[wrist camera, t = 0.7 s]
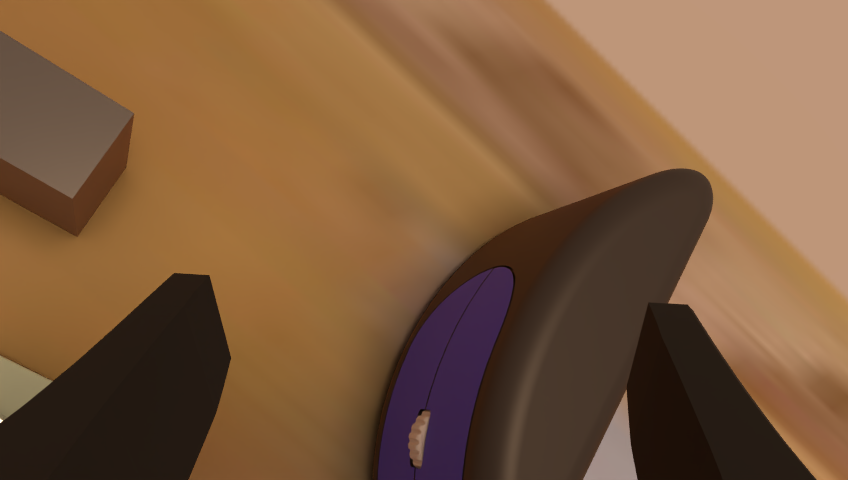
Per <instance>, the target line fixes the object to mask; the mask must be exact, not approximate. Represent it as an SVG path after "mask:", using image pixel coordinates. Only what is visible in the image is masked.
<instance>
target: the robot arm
mask: <svg viewBox="0 0 848 480" xmlns="http://www.w3.org/2000/svg"><path fill="white" fill-rule="evenodd" d="M230 360H231V356H230V352H229V348H228V345H227V341H226V337H225V333H224V329H223V326H222V322H221V318H220V314H219V310H218V306H217V303H216V299H215V295H214V291H213V287H212V284H211V280H210V276H209V275H196V274H180V273H174V274H173V275H172V276H171V277H169V278H168V279H167V280H166V281H165V282H164V283H163V284H162V285H161V286H159V287H158V288H157V289H156V290H155V291H154V292H153V293H152V294H151V295H150V296H148V297H147V298H146V299H145V300H144V301H143V302H142V303H141V304H140V305H139V306H138V307H137V308H135V309H134V310H133V311H132V312H131V313H130V314H129V315H128V316H127V317H126V318H125V319H123V320H122V321H121V322H120V323H119V324H118V325H117V326H116V327H115V328H114V329H113V330H112V331H110V332H109V333H108V334H107V335H106V336H105V337H104V338H103V339H101V340H100V341H99V342H98V343H97V344H96V345H95V346H94V347H92V348H91V349H90V350H89V351H88V352H87V353H86V354H85V355H83V356H82V357H81V358H80V359H79V360H78V361H77V362H76V363H74V364H73V365H72V366H71V367H70V368H68V369H67V370H66V371H65V372H64V373H62V374H61V375H60V376H59V377H57V378H56V379H55V380H54V381H53V382H51V383H50V384H49V385H48V386H46V387H45V388H44V389H43V390H42V391H40V392H39V393H38V394H37V395H36V396H34V397H33V398H32V399H31V400H29V401H28V402H27V403H26V404H25V405H23V406H22V407H21V408H19V409H18V410H17V411H15V412H14V413H13V414H11V415H10V416H9V417H7V418H6V419H5V420H3V421H2V422H1V423H0V480H188V479H189V477H190V474H191V472H192V470H193V467H194V465H195V462H196V460H197V458H198V455H199V453H200V451H201V448H202V446H203V443H204V441H205V439H206V436H207V434H208V431H209V429H210V426H211V424H212V422H213V419H214V417H215V414H216V411H217V408H218V404H219V401H220V397H221V394H222V390H223V387H224V383H225V379H226V375H227V372H228V368H229V364H230ZM627 400H628V414H629V427H630V439H631V447H632V453H633V458H634V463H635V468H636V473H637V479H638V480H816V478H815V477H814V476H813V475H812V474H811V473H810V471H809V470H808V469H807V468H806V467H805V465H804V464H803V463H802V462H801V461H800V459H799V458H798V457H797V456H796V454H795V453H794V452H793V451H792V450H791V448H790V447H789V446H788V445H787V444H786V442H785V441H784V440H783V438H782V437H781V436H780V435H779V433H778V432H777V431H776V429H775V428H774V427H773V426H772V424H771V423H770V422H769V420H768V419H767V418H766V416H765V415H764V414H763V412H762V411H761V410H760V408H759V407H758V405H757V404H756V403H755V401H754V400H753V399H752V397H751V396H750V395H749V393H748V392H747V391H746V389H745V388H744V386H743V385H742V384H741V382H740V381H739V379H738V378H737V377H736V375H735V374H734V372H733V371H732V369H731V368H730V366H729V365H728V363H727V362H726V360H725V359H724V358H723V356H722V355H721V353H720V352H719V350H718V349H717V347H716V346H715V344H714V343H713V341H712V339H711V338H710V336H709V335H708V333H707V332H706V330H705V329H704V327H703V326H702V324H701V322H700V321H699V319H698V318H697V316H696V315H695V313H694V311H693V310H692V309H691V308H690V307H689V306H688V305H684V304H668V303H651V302H648V306H647V310H646V313H645V317H644V321H643V325H642V329H641V333H640V337H639V340H638V344H637V348H636V352H635V356H634V360H633V363H632V367H631V371H630V375H629V379H628V383H627Z"/></svg>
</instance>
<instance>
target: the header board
mask: <svg viewBox="0 0 848 480" xmlns="http://www.w3.org/2000/svg"><path fill="white" fill-rule="evenodd" d="M51 382H53V381H52V380H50V379H48V378H46V377H44V376H42V375H40V374H38V373H36V372H34V371H32V370H29V369H27V368H25V367H23V366H21V365H19V364H17V363H15V362H13V361H11V360H9V359H7V358H5V357H3V356H1V355H0V423H1V422H2V421H3V420H5V419H6V418H7V417H9V416H10V415H11V414H13V413H14V412H15V411H17V410H18V409H19V408H21V407H22V406H23V405H25V404H26V403H27V402H28V401H29V400H31V399H32V398H33V397H34V396H36V395H37V394H38V393H39V392H40V391H42V390H43V389H44V388H45V387H46V386H48V385H49V384H50V383H51Z"/></svg>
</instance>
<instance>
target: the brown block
mask: <svg viewBox="0 0 848 480" xmlns="http://www.w3.org/2000/svg"><path fill="white" fill-rule="evenodd" d="M133 118H134V113H133V112H131V111H130V110H128V109H126V108H125V107H123V106H121V105H120V104H118V103H117V102H115V101H113V100H112V99H110V98H108V97H107V96H105V95H104V94H102V93H100V92H99V91H97V90H95V89H94V88H92V87H91V86H89V85H87V84H86V83H84V82H82V81H81V80H79V79H78V78H76V77H74V76H73V75H71V74H69V73H68V72H66V71H65V70H63V69H61V68H60V67H58V66H56V65H55V64H53V63H52V62H50V61H48V60H47V59H45V58H44V57H42V56H40V55H39V54H37V53H35V52H34V51H32V50H31V49H29V48H27V47H26V46H24V45H22V44H21V43H19V42H18V41H16V40H14V39H13V38H11V37H9V36H8V35H6V34H5V33H3V32H1V31H0V194H1V195H2V196H4V197H6V198H8V199H10V200H12V201H13V202H15V203H17V204H19V205H21V206H22V207H24V208H26V209H28V210H30V211H31V212H33V213H35V214H37V215H39V216H40V217H42V218H44V219H46V220H48V221H50V222H51V223H53V224H55V225H57V226H59V227H60V228H62V229H64V230H66V231H68V232H69V233H71V234H73V235H75V236H78V235H79V233H80V232H81V231H82V229H83V228H84V226H85V225H86V224H87V222H88V221H89V219H90V218H91V216H92V215H93V214H94V212H95V211H96V209H97V208H98V206H99V205H100V204H101V202H102V201H103V199H104V198H105V196H106V195H107V194H108V192H109V191H110V189H111V188H112V187H113V185H114V184H115V182H116V181H117V179H118V178H119V177H120V175H121V174H122V172H123V171H124V169H125V168H126V164H127V158H128V151H129V144H130V138H131V131H132V124H133Z"/></svg>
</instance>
